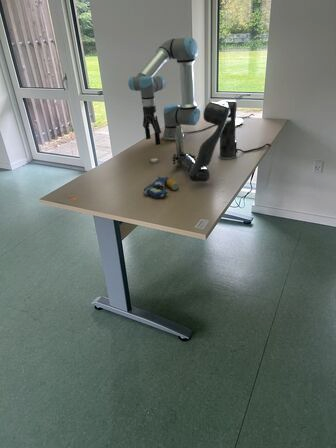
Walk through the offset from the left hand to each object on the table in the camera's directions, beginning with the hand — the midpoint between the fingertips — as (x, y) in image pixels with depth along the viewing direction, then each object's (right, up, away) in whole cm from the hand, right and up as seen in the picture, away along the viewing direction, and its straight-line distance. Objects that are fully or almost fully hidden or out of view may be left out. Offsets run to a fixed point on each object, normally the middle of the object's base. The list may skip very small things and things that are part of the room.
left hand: (153, 141), depth 203 cm
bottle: (+17, -15, -3) cm, 23 cm away
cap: (+1, -10, +6) cm, 12 cm away
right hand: (+16, -9, -4) cm, 18 cm away
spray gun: (+6, -33, -30) cm, 45 cm away
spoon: (+60, +26, +57) cm, 87 cm away
